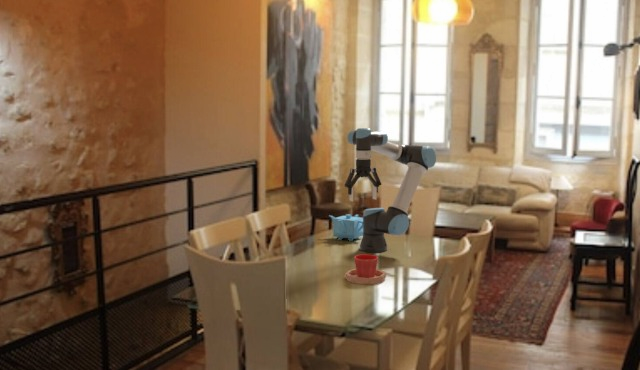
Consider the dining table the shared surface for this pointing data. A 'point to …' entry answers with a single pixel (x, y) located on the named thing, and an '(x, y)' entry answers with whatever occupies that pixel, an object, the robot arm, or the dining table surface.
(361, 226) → the teakettle
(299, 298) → the dining table surface
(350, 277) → the terracotta saucer
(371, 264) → the flower pot
